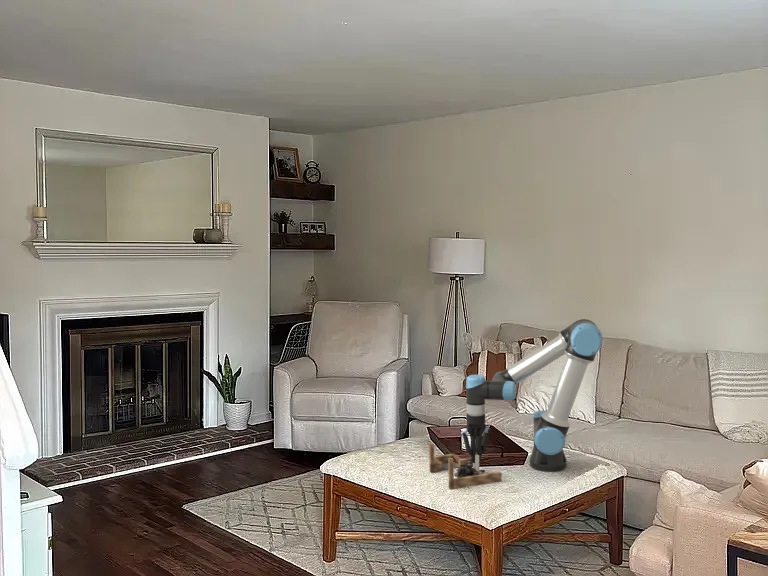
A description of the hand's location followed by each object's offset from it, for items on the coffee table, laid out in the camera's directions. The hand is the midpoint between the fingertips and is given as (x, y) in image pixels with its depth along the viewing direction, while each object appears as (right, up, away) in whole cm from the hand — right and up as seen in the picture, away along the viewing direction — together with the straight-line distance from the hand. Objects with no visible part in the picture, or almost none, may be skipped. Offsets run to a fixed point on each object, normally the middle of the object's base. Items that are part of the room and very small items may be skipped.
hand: (476, 470), depth 314 cm
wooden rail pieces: (-6, -2, +2) cm, 6 cm away
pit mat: (-11, -1, +10) cm, 15 cm away
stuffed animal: (-3, -3, -1) cm, 4 cm away
